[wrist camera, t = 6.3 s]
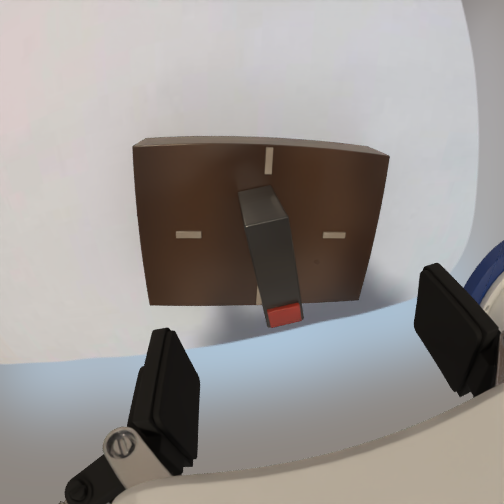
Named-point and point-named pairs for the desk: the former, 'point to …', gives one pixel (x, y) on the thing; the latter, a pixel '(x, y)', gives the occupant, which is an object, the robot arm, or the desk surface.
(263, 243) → the handle
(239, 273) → the panel
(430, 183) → the desk surface
